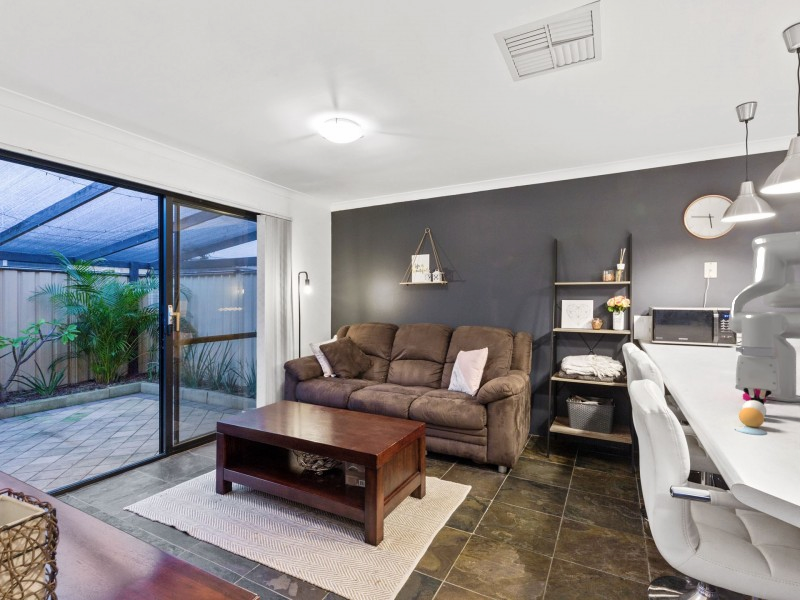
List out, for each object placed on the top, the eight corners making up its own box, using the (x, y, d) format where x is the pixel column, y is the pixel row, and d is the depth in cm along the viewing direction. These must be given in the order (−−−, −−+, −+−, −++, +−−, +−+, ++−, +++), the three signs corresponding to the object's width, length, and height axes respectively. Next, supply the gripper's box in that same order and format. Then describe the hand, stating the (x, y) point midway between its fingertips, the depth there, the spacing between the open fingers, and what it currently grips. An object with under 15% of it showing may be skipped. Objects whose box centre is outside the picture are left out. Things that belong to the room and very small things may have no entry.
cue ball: (743, 398, 123) (743, 416, 122) (767, 401, 120) (767, 420, 119) (741, 399, 128) (741, 417, 126) (765, 402, 124) (765, 420, 123)
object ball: (742, 401, 118) (739, 412, 114) (767, 407, 114) (765, 419, 111) (738, 415, 120) (735, 426, 117) (762, 422, 117) (760, 434, 113)
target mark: (738, 425, 117) (738, 424, 117) (770, 431, 111) (770, 431, 111) (728, 429, 114) (728, 428, 114) (760, 436, 108) (760, 435, 108)
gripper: (725, 351, 129) (725, 407, 130) (789, 356, 119) (789, 417, 119) (728, 349, 135) (729, 403, 135) (790, 353, 124) (791, 412, 124)
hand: (757, 410), depth 127 cm, fingers closed
